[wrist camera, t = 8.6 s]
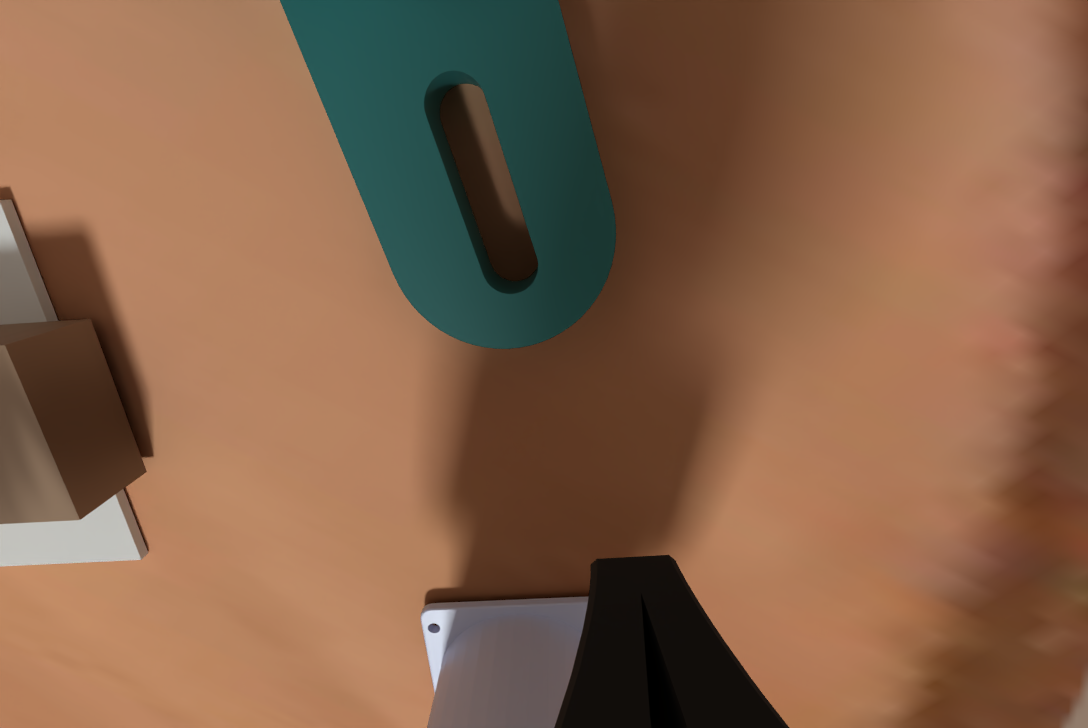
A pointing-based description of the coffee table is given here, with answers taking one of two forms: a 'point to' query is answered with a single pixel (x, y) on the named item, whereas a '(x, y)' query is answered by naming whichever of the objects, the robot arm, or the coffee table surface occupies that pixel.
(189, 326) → the coffee table surface
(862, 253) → the coffee table surface
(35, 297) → the grey mat
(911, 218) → the coffee table surface
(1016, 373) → the coffee table surface
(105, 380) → the walnut block
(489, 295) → the bracket
